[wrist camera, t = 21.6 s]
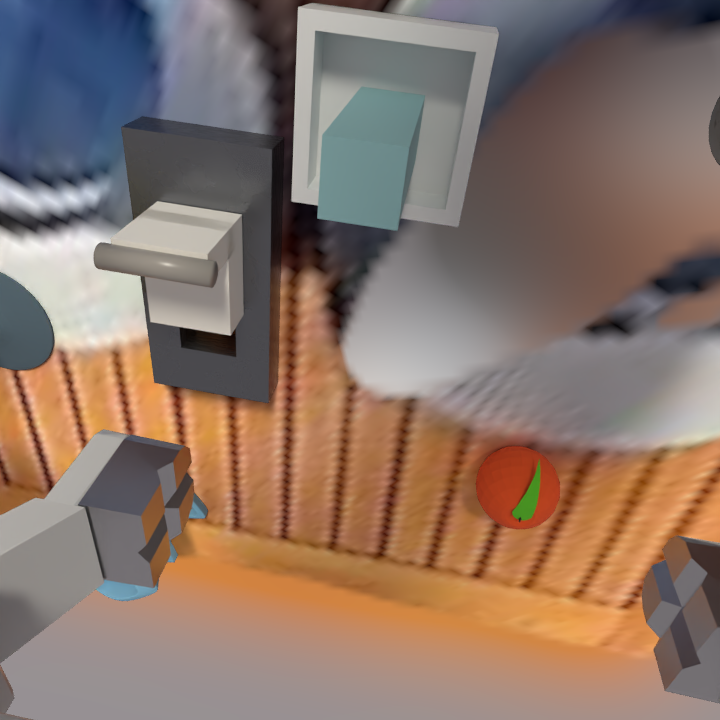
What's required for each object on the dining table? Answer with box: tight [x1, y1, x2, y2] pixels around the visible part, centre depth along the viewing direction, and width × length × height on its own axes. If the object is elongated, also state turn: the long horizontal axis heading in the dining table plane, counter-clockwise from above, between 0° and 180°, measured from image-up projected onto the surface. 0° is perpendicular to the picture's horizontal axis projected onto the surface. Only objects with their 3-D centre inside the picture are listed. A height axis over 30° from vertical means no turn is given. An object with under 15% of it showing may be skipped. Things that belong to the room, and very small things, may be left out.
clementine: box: [476, 446, 560, 529], centre depth 50 cm, size 8×7×7 cm
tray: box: [292, 3, 499, 227], centre depth 36 cm, size 11×11×4 cm
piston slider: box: [94, 201, 244, 336], centre depth 39 cm, size 8×7×8 cm
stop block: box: [317, 86, 425, 231], centre depth 33 cm, size 4×4×12 cm
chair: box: [96, 493, 208, 601], centre depth 57 cm, size 8×8×12 cm
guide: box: [121, 117, 284, 403], centre depth 45 cm, size 21×10×3 cm, turn 174°
